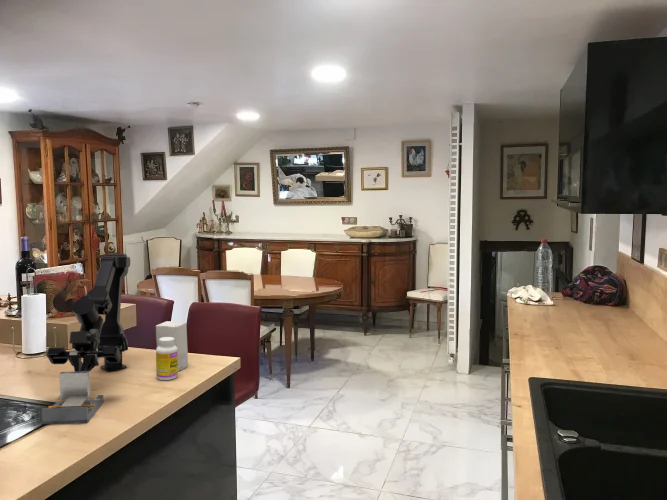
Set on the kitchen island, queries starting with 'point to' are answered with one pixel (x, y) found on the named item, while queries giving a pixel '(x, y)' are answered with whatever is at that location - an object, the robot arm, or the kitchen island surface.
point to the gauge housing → (71, 413)
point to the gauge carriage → (74, 389)
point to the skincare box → (175, 339)
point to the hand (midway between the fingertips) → (77, 382)
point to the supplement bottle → (166, 359)
